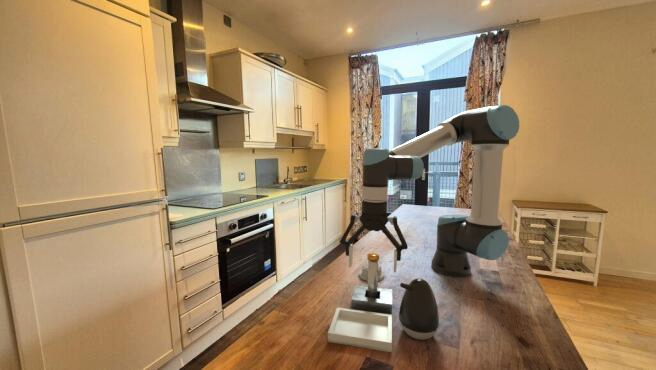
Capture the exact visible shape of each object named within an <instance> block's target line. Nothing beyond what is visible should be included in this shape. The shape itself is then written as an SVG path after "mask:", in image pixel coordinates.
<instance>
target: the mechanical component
mask: <svg viewBox="0 0 656 370" xmlns="http://www.w3.org/2000/svg"><path fill="white" fill-rule="evenodd" d="M358 276H359V278H360V279H362V280H364V281H367V282H368V262H366V263H364V264H362V265H361V269H360V270H359V272H358ZM384 278H385V273H384V271H383V270H382V265H380V264H379V263H378V282H380V281H383V280H384Z"/></svg>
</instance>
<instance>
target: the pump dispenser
mask: <svg viewBox="0 0 656 370" xmlns="http://www.w3.org/2000/svg"><path fill="white" fill-rule="evenodd" d="M399 286H400V288H403V289H404V292H403V296H402V299H401V301H400V305H399V306H400V307H399V311H398V320H399V322H400V325H401V327H402V330H403V331H404V333H406V334H407V336H409V337H411V338H412V339H416V340H420V341H421V340H422V341H425V340H428V339H430V338H432V337H433V336H434V335H435V334H436V333H437V329H438V328H439V325H440V317H439V310H438V309H439V308H438V304H437V299H436V297H435V294H434V291H433V289H432V287H431V286H430V284H429V282H428V281H426V280H425V279H423V278H415V279H412V280H411V281H410V282H409V283H408V284H407V283H404V282H400V284H399Z"/></svg>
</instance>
